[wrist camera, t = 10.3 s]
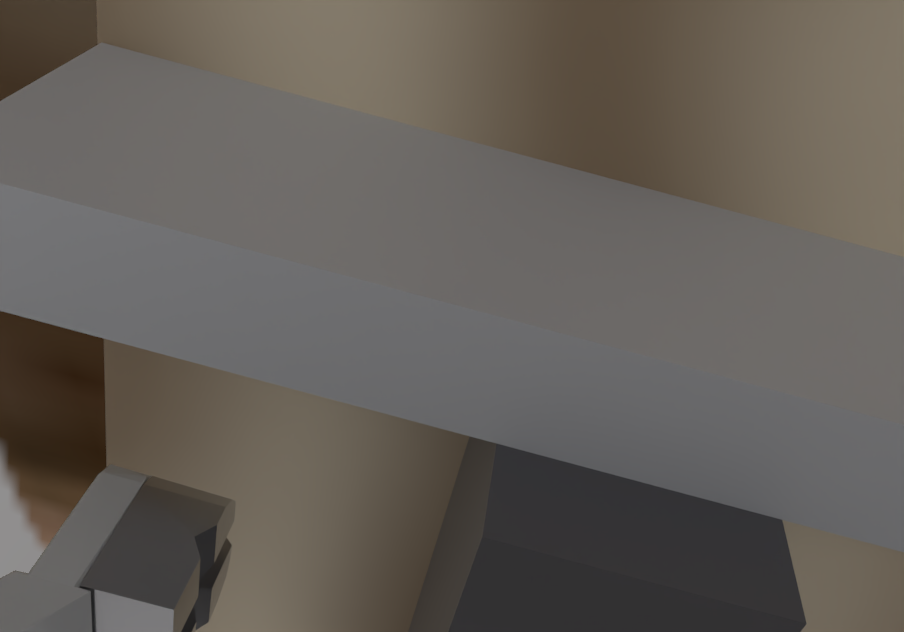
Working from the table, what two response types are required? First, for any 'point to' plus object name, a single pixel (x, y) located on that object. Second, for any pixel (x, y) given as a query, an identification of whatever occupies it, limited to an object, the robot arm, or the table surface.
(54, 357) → the table surface
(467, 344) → the grey block
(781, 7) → the bench plate
